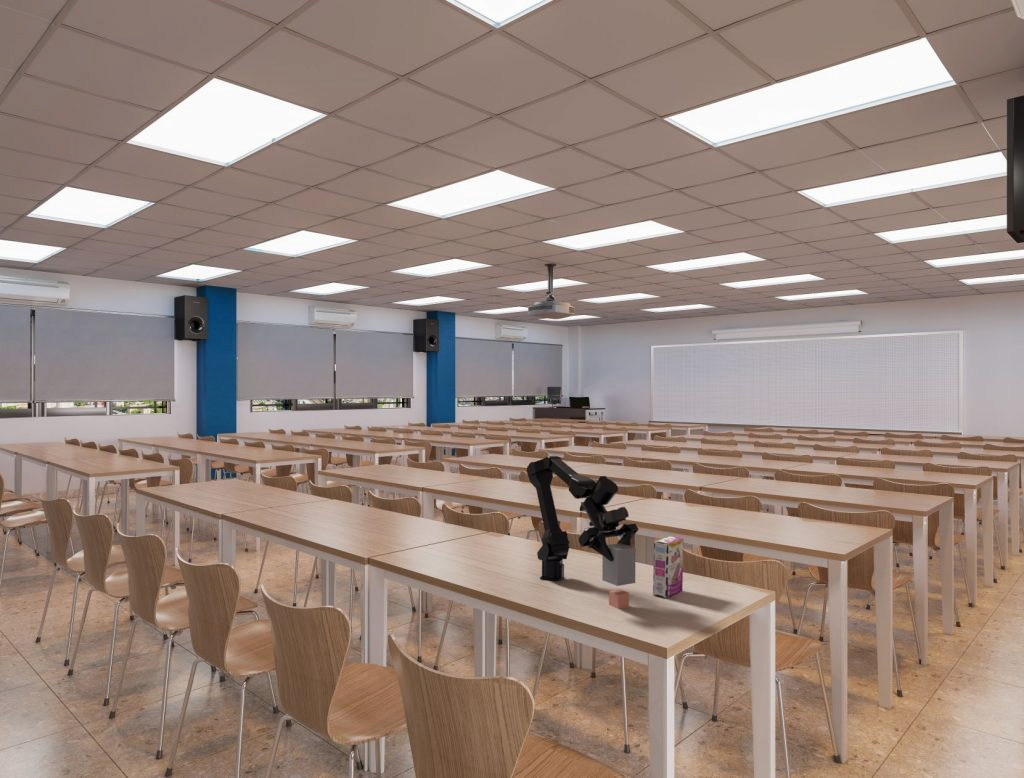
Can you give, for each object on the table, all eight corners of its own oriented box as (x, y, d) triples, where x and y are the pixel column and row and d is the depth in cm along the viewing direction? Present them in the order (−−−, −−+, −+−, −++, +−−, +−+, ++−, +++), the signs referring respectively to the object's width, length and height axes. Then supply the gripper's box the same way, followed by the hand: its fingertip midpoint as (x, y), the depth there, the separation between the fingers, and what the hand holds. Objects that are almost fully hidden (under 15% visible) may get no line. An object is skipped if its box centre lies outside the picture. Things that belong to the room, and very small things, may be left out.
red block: (608, 605, 183) (608, 591, 183) (619, 603, 185) (619, 589, 185) (618, 609, 179) (618, 594, 180) (628, 606, 182) (628, 592, 182)
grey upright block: (602, 580, 183) (602, 545, 184) (620, 577, 187) (620, 543, 187) (617, 586, 178) (617, 550, 178) (635, 582, 181) (635, 547, 181)
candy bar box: (667, 599, 189) (668, 543, 190) (652, 595, 192) (652, 541, 193) (683, 590, 198) (684, 537, 198) (668, 587, 201) (669, 535, 201)
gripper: (584, 500, 182) (609, 546, 172) (634, 495, 191) (660, 539, 181) (568, 523, 188) (591, 569, 178) (617, 518, 198) (641, 561, 188)
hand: (622, 559), depth 181 cm, fingers closed on grey upright block, 7 cm apart
